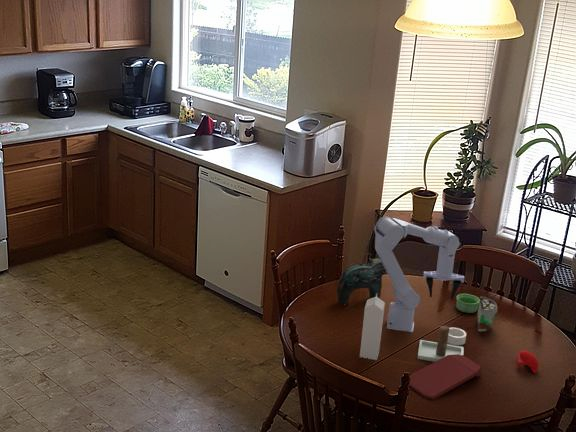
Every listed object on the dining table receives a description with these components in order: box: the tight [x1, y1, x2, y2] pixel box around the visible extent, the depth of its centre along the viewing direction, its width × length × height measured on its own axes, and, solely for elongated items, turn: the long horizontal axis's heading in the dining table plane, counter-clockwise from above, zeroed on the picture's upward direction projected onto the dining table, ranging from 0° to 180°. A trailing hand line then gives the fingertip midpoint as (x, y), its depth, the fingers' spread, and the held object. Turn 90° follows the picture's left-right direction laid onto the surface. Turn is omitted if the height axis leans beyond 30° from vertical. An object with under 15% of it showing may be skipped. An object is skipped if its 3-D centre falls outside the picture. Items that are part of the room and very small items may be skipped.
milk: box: [359, 294, 386, 361], centre depth 236 cm, size 6×6×22 cm
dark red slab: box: [408, 354, 482, 400], centre depth 227 cm, size 12×5×25 cm
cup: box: [447, 327, 467, 346], centre depth 251 cm, size 7×7×4 cm
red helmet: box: [515, 349, 539, 374], centre depth 236 cm, size 8×6×6 cm
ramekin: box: [456, 293, 480, 314], centre depth 276 cm, size 9×9×4 cm
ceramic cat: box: [336, 253, 387, 306], centre depth 274 cm, size 20×6×20 cm, turn 114°
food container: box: [476, 295, 498, 333], centre depth 261 cm, size 12×6×10 cm, turn 168°
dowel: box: [436, 325, 450, 356], centre depth 240 cm, size 3×3×10 cm
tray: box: [417, 339, 465, 363], centre depth 241 cm, size 15×11×2 cm
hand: (441, 297), depth 261 cm, fingers open, 7 cm apart
